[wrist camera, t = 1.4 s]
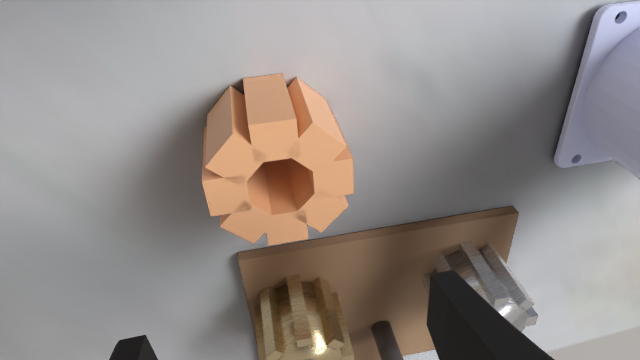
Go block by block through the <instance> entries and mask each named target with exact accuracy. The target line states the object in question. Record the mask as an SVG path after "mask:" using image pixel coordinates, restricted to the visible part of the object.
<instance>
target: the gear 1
mask: <svg viewBox="0 0 640 360" xmlns="http://www.w3.org/2000/svg"><path fill="white" fill-rule="evenodd" d="M286 278H287V284H284V285H282V286H280V287H278V288H277V289H274V288H272V287H270V286H267V287H266V288H265V289H264V290H263V291H262V292H261V293H260V302H261V306H260V307H254V308H255V320H256V332H257V345H258V357H259V360H354V353H353V349H352V345H351V342H350V338H349V334H348V331H347V327H346V324H345V320H344V316H343V313H342V309H341V305H340V302H339V298H338V294H337V292H336V293H332V292H331V289H330V285H329V281H327V280H325V279H323V278H321V277H318V278H317V279H316V280H315V281H314V282H308V281H301V280H300V275H299V274H298V275H292V276H286Z"/></svg>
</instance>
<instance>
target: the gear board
mask: <svg viewBox="0 0 640 360" xmlns="http://www.w3.org/2000/svg"><path fill="white" fill-rule="evenodd" d="M518 214H519V212H518V211H517V210H516V209H515V208H514V207H513V206H510V207H504V208H498V209H492V210H486V211H480V212H475V213H469V214H463V215H457V216H451V217H445V218H439V219H433V220H427V221H421V222H415V223H409V224H404V225H398V226H392V227H386V228H380V229H374V230H368V231H362V232H356V233H350V234H344V235H339V236H333V237H327V238H321V239H315V240H309V241H303V242H297V243H291V244H285V245H279V246H273V247H268V248H262V249H256V250H250V251H244V252H238V263H239V267H240V271H241V276H242V280H243V285H244V289H245V293H246V298H247V302H248V306H249V311H250V315H251V320H252V324H253V328H254V333H255V337H256V342H257V332H256V320H255V308H254V307H260V306H261V302H260V293H261V292H262V291H263V290H264V289H265V288H266V287H267V286H270V287H272V288H274V289H277V288H278V287H280V286H282V285H284V284H287V278H286V276H292V275H298V274H299V275H300V280H301V281H308V282H314V281H315V280H316V279H317V278H318V277H321V278H323V279H325V280H327V281H329V285H330V289H331V292H332V293H336V292H337V294H338V298H339V302H340V305H341V309H342V313H343V316H344V320H345V324H346V327H347V331H348V334H349V338H350V342H351V345H352V349H353V353H354V360H403V357H402V356H405V355H410V354H415V353H420V352H425V351H430V350H435V347H434V344H433V341H432V338H431V336H430V333H429V330H428V327H427V325H426V324H427V312H428V300H429V296H428V293H427V291H426V289H425V287H424V285H423V283H422V280H423V274H427V273H432V272H433V270H434V268H435V265H434V263H433V261H432V259H434V258H435V257H436V256H437V255H438V254H439V253H441V252H442V253H443V254H445V255H449V254H451V253H453V252H455V251H458V250H459V245H460V243H464V242H469V241H472V242H473V243H474V245H475V246H476V248H477V249H480V250H481V249H482V248H484V247H485V246H486V245H487V244H490V245H491V246H492V247H494V248H495V249H496V250H497V252H498V253H499V254H500V256H501V257H502V259H503V260H504V262H505V263H507V259H508V255H509V251H510V247H511V242H512V238H513V234H514V230H515V226H516V222H517V218H518ZM257 346H258V345H257Z"/></svg>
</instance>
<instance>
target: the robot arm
mask: <svg viewBox="0 0 640 360" xmlns="http://www.w3.org/2000/svg"><path fill="white" fill-rule="evenodd" d="M619 12H620V15H619V17H618V18H617V19H616V20H615V17H616V16H617V14H618V13H619ZM575 155H576V156H575ZM574 156H575V157H574ZM573 157H574V158H573ZM611 160H615V161H616V162H617V163H619V164H620V165H621V166H622V167H624V168H625V169H626V170H628V171H629V172H630V173H632V174H633V175H634V176H636V177H637V178H638V179H640V1H632V2H623V3H615V4H607V5H604V6H602V7H601V8H600V9H599V10H598V11H597V12H596V13H595V16H594V18H593V21H592V25H591V28H590V32H589V35H588V39H587V43H586V46H585V50H584V53H583V57H582V60H581V64H580V68H579V71H578V75H577V78H576V82H575V85H574V89H573V93H572V96H571V100H570V103H569V107H568V110H567V114H566V118H565V121H564V125H563V128H562V132H561V135H560V139H559V143H558V146H557V150H556V153H555V157H554V162H555V164H556V165H557V166H558V167H560V168H568V167H574V166H580V165H587V164H593V163H599V162H605V161H611ZM426 325H427V327H428V330H429V333H430V336H431V338H432V341H433V344H434V347H435V349H436V352H437V354H438V357H439V360H554V359H553V358H552V357H550V356H549V355H548V354H547V353H545V352H544V351H543V350H542V349H540V348H539V347H538V346H537V345H536V344H534V343H533V342H532V341H531V340H530V339H528V338H527V337H526V336H525V335H524V334H523V333H522V332H520V331H519V330H518V329H517V328H516V327H515V326H513V325H512V324H511V323H510V322H509V321H508V320H507V319H505V318H504V317H503V316H502V315H501V314H500V313H499V312H498V311H497V310H496V309H495V308H493V307H492V306H491V305H490V304H489V303H488V302H487V301H486V300H485V299H484V298H483V297H482V296H481V295H480V294H479V293H478V292H476V291H475V290H474V289H473V288H472V287H471V286H470V285H469V284H468V283H467V282H466V281H465V280H464V279H463V278H462V277H461V276H460V275H459V274H458V273H457V272H456V271H454V270H449V271H444V272H440V273H435V274H431V276H430V288H429V300H428V312H427V324H426ZM109 360H158V359H157V357H156V355H155V353H154V351H153V349H152V347H151V345H150V343H149V341H148V339H147V337H146V335H142V336H137V337H133V338H128V339H123V340H120V341H119V342H118V343H117V344H116V346H115V348H114V351H113V353H112V355H111V357H110V359H109Z"/></svg>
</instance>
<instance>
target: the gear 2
mask: <svg viewBox="0 0 640 360" xmlns="http://www.w3.org/2000/svg"><path fill="white" fill-rule="evenodd" d="M432 261H433V263H434V265H435V268H434V270H433V272H432V273H427V274H423V280H422V283H423V285H424V287H425V289H426V291H427V293H428V296H429V288H430V276H431V274H435V273H440V272H444V271H449V270H454V271H456V272H457V273H458V274H459V275H460V276H461V277H462V278H463V279H464V280H465V281H466V282H467V283H468V284H469V285H470V286H471V287H472V288H473V289H474V290H475V291H476V292H478V293H479V294H480V295H481V296H482V297H483V298H484V299H485V300H486V301H487V302H488V303H489V304H490V305H491V306H492V307H493V308H495V309H496V310H497V311H498V312H499V313H500V314H501V315H502V316H503V317H504V318H505V319H507V320H508V321H509V322H510V323H511V324H512V325H513V326H515V327H516V328H517V329H518V330H519V331H520V332H522V331H523V330H524V328H525V327H526V326H530V325H535V324H536V321H537V318H538V315H537V313H536V312H535V310H534V309H533V308H532V306H533V305H534V302H533V301H532V299H531V298H530V297H529V295H528V294H527V292H526V291H525V290H524V288H523V287H522V285H521V284H520V283H519V281H518V280H517V278H516V277H515V276H514V274H513V273H512V271H511V270H510V269H509V267H508V266H507V264H506V263H505V262H504V260H503V259H502V257H501V256H500V254H499V253H498V252H497V250H496V249H495V248H494V247H492V246H491V245H490V244H487V245H486V246H485V247H484V248H482V249H481V250H480V249H477V248H476V246H475V245H474V243H473V242H472V241H469V242H464V243H460V245H459V250H458V251H455V252H453V253H451V254H449V255H445V254H443V253H442V252H441V253H439V254H438V255H437V256H436V257H435V258H434V259H432Z"/></svg>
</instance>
